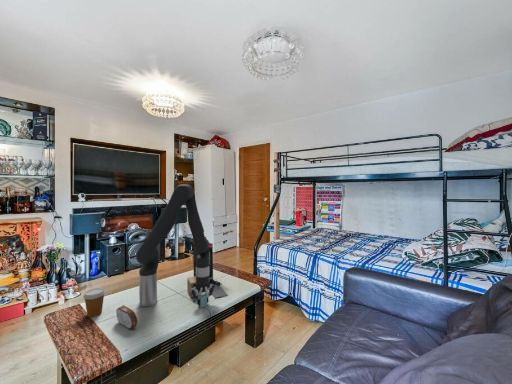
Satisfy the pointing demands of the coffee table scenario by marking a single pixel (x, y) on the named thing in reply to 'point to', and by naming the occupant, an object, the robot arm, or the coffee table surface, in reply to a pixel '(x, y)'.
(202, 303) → the grey-blue block
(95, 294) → the disposable coffee cup
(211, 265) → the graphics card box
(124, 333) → the coffee table surface
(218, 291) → the mat
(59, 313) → the coffee table surface
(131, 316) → the brown grey rounded block
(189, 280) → the sleeve
